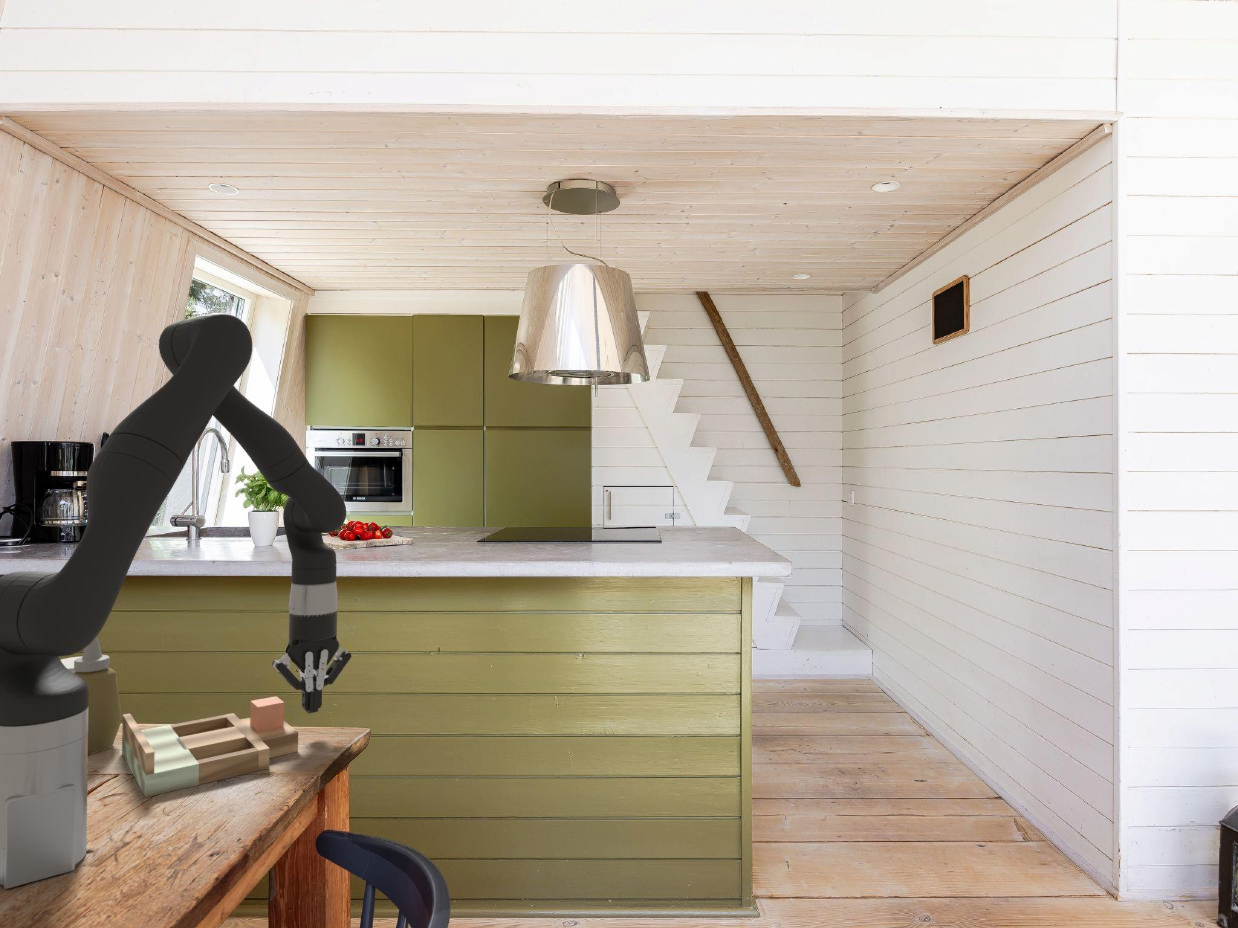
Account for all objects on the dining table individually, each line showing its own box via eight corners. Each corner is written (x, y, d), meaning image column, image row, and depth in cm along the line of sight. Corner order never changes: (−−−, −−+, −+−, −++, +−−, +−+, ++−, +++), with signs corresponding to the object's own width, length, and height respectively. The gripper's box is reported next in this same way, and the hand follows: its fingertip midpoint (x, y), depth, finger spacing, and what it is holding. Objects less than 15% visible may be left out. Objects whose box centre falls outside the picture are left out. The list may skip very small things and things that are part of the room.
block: (283, 726, 124) (284, 702, 124) (257, 732, 121) (257, 707, 121) (275, 720, 127) (276, 696, 127) (250, 725, 124) (250, 700, 124)
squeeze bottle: (105, 735, 127) (107, 627, 126) (131, 745, 122) (133, 633, 122) (49, 751, 120) (50, 636, 120) (74, 762, 116) (76, 643, 115)
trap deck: (306, 759, 118) (307, 720, 118) (145, 797, 104) (146, 753, 104) (267, 723, 134) (267, 689, 134) (122, 752, 120) (122, 714, 120)
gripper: (279, 617, 121) (277, 726, 121) (360, 607, 130) (359, 709, 130) (265, 609, 127) (263, 713, 127) (344, 601, 136) (342, 698, 136)
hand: (311, 711), depth 129 cm, fingers closed
